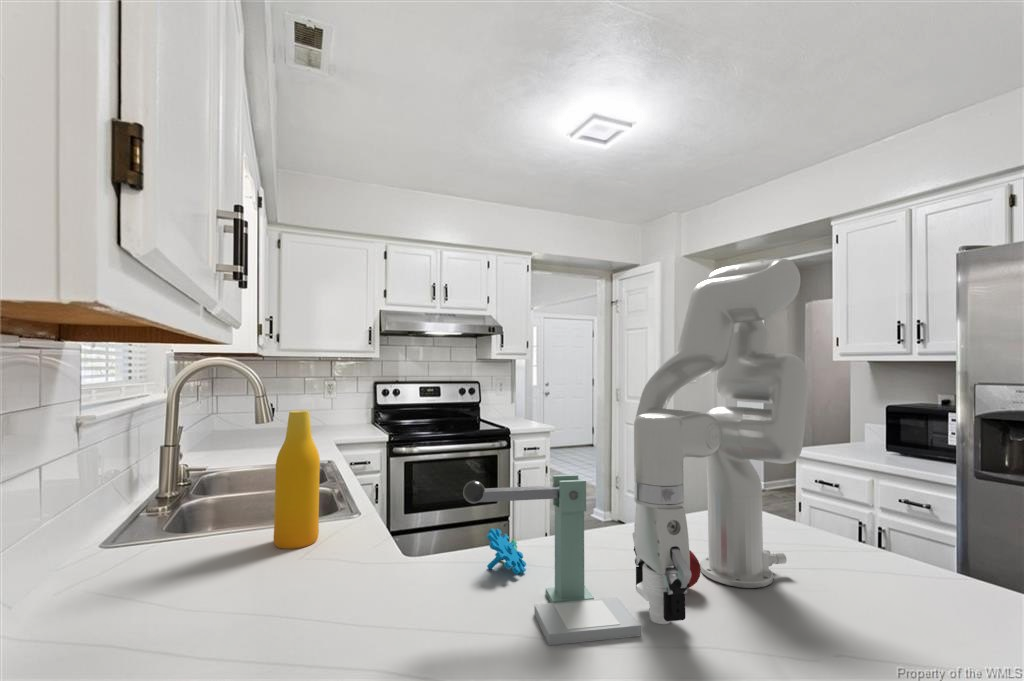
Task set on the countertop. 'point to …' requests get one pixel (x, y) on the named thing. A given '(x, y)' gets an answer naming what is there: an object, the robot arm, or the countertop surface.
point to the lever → (508, 493)
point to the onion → (694, 569)
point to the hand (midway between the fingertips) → (659, 604)
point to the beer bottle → (297, 486)
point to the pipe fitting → (654, 592)
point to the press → (577, 580)
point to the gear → (505, 552)
